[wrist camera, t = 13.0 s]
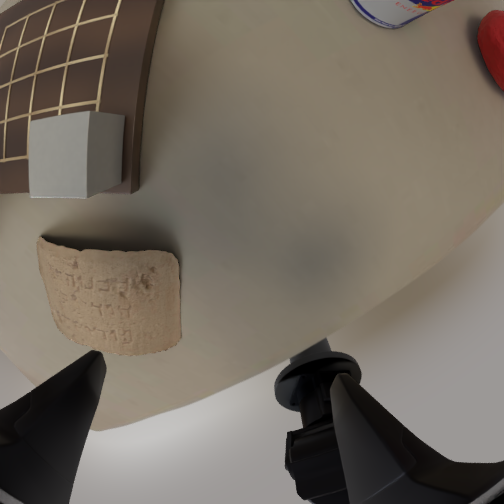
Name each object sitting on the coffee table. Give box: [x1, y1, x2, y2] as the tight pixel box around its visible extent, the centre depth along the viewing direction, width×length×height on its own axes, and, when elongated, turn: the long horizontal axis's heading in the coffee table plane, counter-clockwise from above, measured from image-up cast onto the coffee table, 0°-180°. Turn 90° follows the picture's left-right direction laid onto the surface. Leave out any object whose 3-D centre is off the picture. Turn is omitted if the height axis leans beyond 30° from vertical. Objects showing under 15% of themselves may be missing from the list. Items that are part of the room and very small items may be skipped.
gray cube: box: [29, 111, 125, 198], centre depth 13 cm, size 5×5×5 cm
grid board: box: [0, 0, 164, 194], centre depth 13 cm, size 20×20×2 cm
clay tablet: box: [37, 236, 181, 356], centre depth 20 cm, size 14×10×3 cm
